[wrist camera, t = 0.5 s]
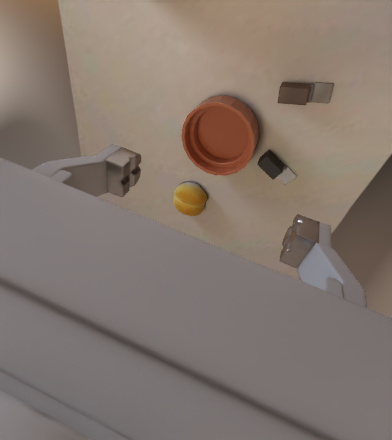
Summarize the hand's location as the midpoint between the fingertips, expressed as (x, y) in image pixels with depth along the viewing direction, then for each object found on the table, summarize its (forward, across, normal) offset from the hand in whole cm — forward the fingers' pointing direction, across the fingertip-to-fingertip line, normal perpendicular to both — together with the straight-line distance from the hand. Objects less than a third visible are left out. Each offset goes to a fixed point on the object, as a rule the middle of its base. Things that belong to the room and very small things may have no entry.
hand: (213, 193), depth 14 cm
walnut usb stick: (+42, -4, +4) cm, 42 cm away
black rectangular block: (+42, -5, +19) cm, 46 cm away
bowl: (+42, +7, +16) cm, 45 cm away
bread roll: (+42, +11, +35) cm, 56 cm away
